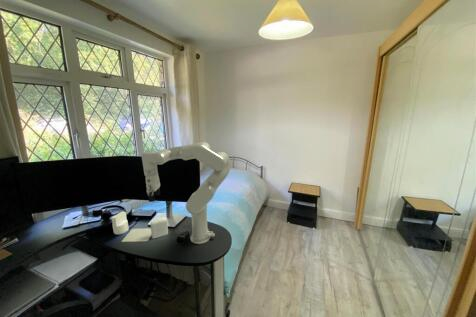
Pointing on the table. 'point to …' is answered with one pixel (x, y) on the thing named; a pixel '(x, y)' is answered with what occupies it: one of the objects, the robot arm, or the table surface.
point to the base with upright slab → (120, 223)
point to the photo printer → (159, 227)
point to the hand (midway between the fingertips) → (154, 198)
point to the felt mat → (138, 235)
